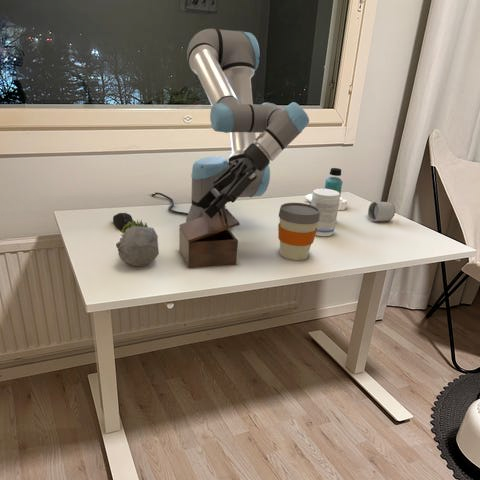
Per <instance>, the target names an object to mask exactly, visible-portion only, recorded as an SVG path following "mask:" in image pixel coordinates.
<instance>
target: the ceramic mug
mask: <svg viewBox="0 0 480 480" xmlns="http://www.w3.org/2000/svg"><path fill="white" fill-rule="evenodd" d="M395 214H396V207H395V205H394V204H393V203H391V202H389V201H377V200H374V201H372V202H371V203H370V204H369V206H368V210H367V216H368V219H369V220H370V221H371V222H388V221H391V220H392V219H394V217H395Z"/></svg>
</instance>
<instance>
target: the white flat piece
mask: <svg viewBox="0 0 480 480" xmlns="http://www.w3.org/2000/svg"><path fill="white" fill-rule="evenodd" d="M312 194H313V192H312V193H309V194H306V195H305V196H304V200H305V201H307V202H309V203H311V201H312ZM339 200H340V201H339V206H338V211H344V210H346V208H347V204H348V203H347V202H348V200H347V199H345V198H344V197H342V196H341V195H340V199H339Z"/></svg>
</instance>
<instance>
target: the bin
mask: <svg viewBox="0 0 480 480" xmlns="http://www.w3.org/2000/svg"><path fill="white" fill-rule="evenodd" d="M178 230H179V232H178V233H179V234H178V235H179V237H178V238H179V241H178V242H179V244H178V245H179V246H178V247H179V250H178V252H179V254H180V255H181V257H182V259H183V261H184V262H185V264H186V266H187V269H195V268H196V269H197V268H211V267H212V268H213V267H224V266H237V262H238V261H237V260H238V245H239V239H238V238H237V237H236V236H235V235H234V234H233V233H232V232H231V230H230V228H229V229H227V230H224V231H221V232H218V233H215V234H212V235H210V236H207V237H204V238H201V239H198V240H195V241H192V242H190V243H189V241H188V240H187V238H186V236H185V235H184V233H183V231H182V230H181V228H180V227H179V229H178Z"/></svg>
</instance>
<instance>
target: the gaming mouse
mask: <svg viewBox="0 0 480 480" xmlns="http://www.w3.org/2000/svg"><path fill="white" fill-rule="evenodd" d="M132 219H133V217H132V215H131V214H129V213H127V212H118V213H116V214H115V215H113V217H112V222H113V224H114V225H115V227H116V229H117V230H119V231H122V229H123V227H124V226H125V224H128V223H129V221H130V222H131V223H132ZM127 222H128V223H127Z"/></svg>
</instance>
